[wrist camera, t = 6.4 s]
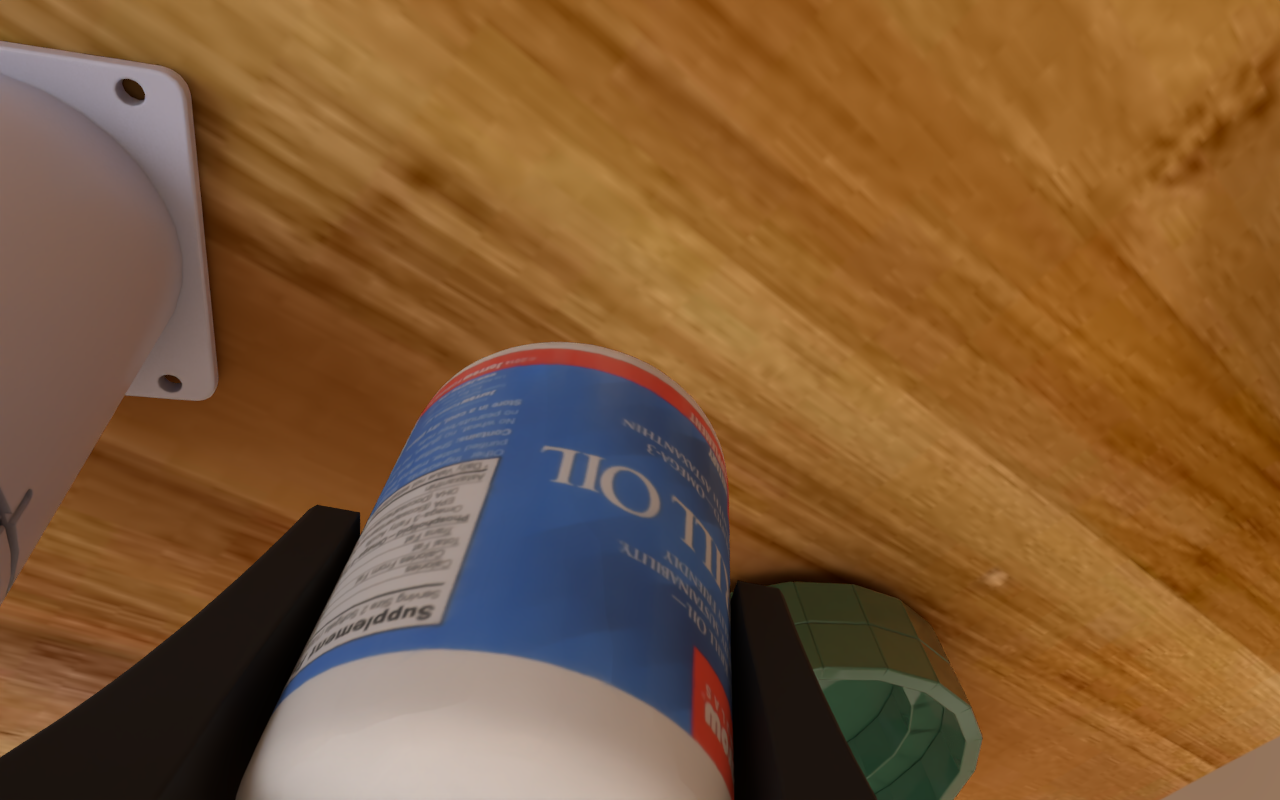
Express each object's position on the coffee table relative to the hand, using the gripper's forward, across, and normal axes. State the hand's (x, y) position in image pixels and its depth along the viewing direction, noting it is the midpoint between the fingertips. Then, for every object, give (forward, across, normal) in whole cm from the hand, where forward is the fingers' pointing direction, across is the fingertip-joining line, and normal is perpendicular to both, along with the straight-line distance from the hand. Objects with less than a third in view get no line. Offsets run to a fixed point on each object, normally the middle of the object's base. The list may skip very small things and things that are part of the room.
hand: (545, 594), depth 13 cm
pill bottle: (+3, 0, 0) cm, 3 cm away
